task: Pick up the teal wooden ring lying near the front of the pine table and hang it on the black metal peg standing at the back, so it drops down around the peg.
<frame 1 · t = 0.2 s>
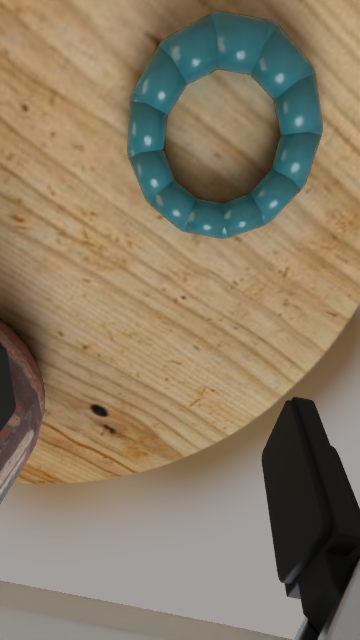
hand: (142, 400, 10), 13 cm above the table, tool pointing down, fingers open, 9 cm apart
ring: (220, 142, 16), point 1 cm above the table
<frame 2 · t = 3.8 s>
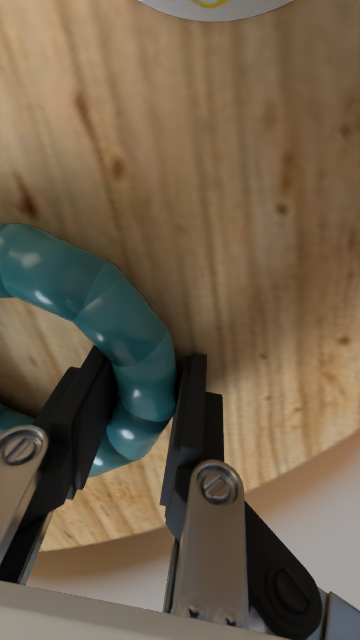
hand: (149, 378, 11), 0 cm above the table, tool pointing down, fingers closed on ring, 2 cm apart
ring: (33, 373, 11), point 1 cm above the table, touching gripper
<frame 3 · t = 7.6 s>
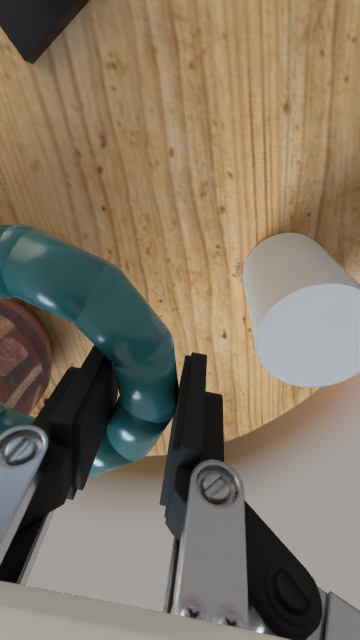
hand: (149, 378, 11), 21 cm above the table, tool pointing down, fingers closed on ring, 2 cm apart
pottery: (1, 333, 38), on the table
ring: (34, 373, 11), point 22 cm above the table, touching gripper
grey cylinder: (283, 272, 31), on the table
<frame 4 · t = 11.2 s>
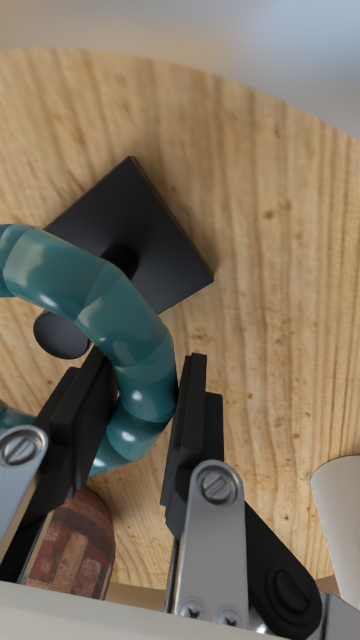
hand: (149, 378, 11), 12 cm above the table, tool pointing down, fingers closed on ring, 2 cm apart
pottery: (60, 502, 39), on the table
ring: (34, 372, 11), point 12 cm above the table, touching gripper
peg stand: (124, 256, 21), on the table
grey cylinder: (352, 480, 31), on the table
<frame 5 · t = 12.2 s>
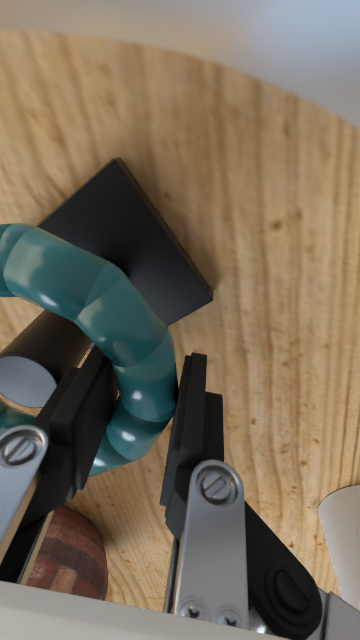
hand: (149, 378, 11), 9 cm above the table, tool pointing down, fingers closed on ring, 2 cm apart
pottery: (49, 526, 36), on the table
ring: (34, 372, 11), point 10 cm above the table, touching gripper
peg stand: (113, 271, 19), on the table
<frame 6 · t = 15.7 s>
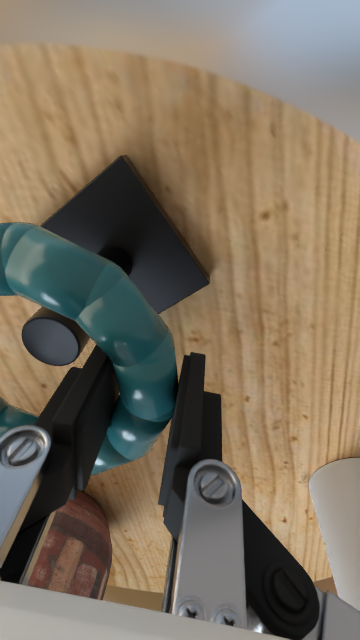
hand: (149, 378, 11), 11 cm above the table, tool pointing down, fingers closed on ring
pottery: (56, 506, 38), on the table
ring: (35, 370, 11), point 12 cm above the table, touching gripper
peg stand: (118, 258, 21), on the table
grey cylinder: (350, 482, 31), on the table
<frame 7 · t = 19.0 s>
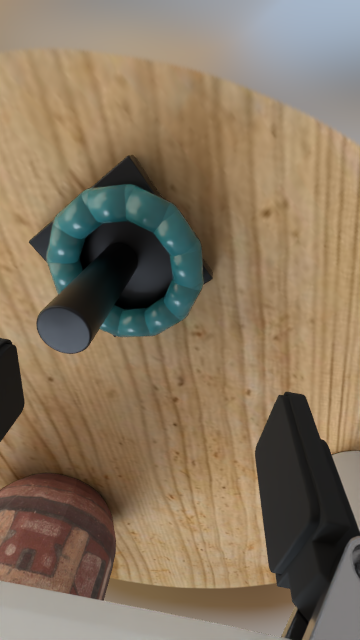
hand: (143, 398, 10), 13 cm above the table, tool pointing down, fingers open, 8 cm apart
pottery: (60, 499, 39), on the table
ring: (125, 269, 20), point 2 cm above the table, touching peg stand
peg stand: (124, 254, 22), on the table
grey cylinder: (349, 475, 31), on the table
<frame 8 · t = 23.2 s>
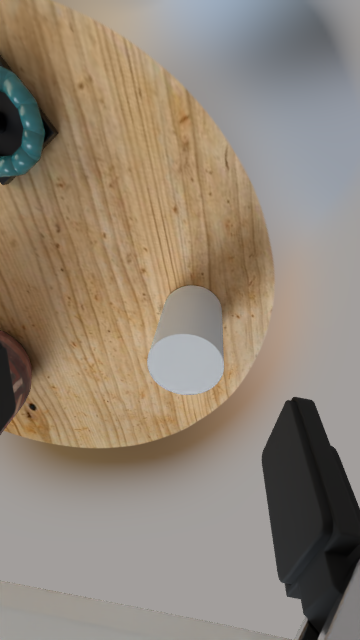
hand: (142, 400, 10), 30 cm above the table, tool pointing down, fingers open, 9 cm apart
peg stand: (1, 121, 34), on the table
grey cylinder: (192, 311, 43), on the table
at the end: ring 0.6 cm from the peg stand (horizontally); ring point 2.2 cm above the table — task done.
